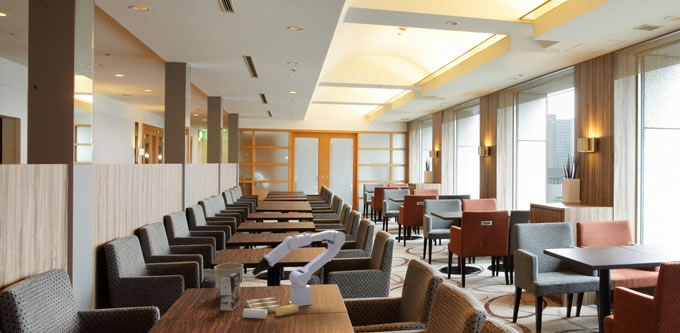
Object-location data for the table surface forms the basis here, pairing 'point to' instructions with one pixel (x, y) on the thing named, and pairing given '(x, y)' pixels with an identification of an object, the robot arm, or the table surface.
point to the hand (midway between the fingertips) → (253, 273)
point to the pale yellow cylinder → (286, 310)
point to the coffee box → (230, 291)
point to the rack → (263, 304)
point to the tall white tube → (255, 313)
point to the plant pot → (226, 268)
